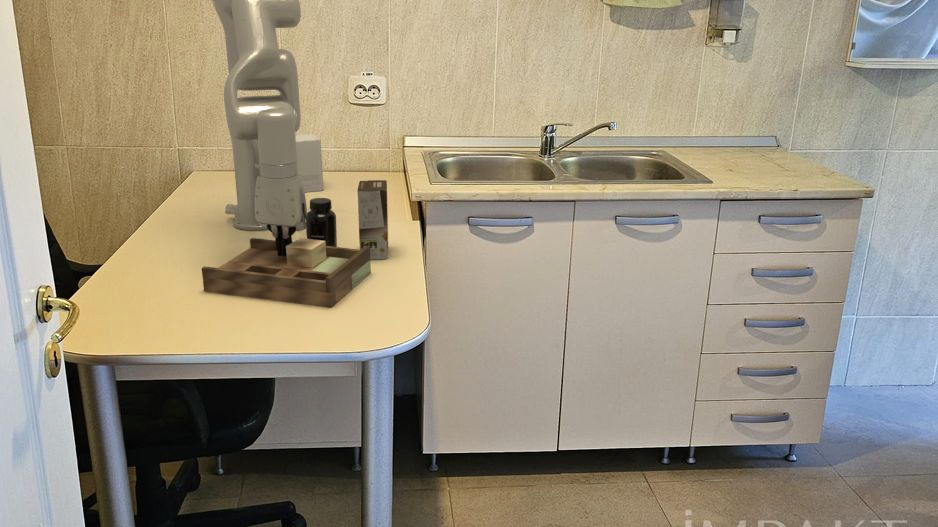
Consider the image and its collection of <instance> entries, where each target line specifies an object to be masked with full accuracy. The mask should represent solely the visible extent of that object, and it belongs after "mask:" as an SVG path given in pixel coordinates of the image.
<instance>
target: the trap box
mask: <svg viewBox="0 0 938 527" xmlns="http://www.w3.org/2000/svg"><path fill="white" fill-rule="evenodd" d="M293 242H294V241H292V243H293ZM249 246H250V247H249V248H248V249H246V250H245V251H243V252H241V253H240V254H238V255H236V256H235V257H234V258H232V259H230V260H228V261H227V262H225V263H224V264H222V265H220V266H218V267H214V266H202V267H201V275H202V284H203V292H208V293H216V294H223V295H230V296H231V295H232V296H237V297H238V296H239V297H246V298H253V299H254V298H255V299H264V300H270V301H279V302H286V303H295V304H300V305H301V304H302V305H307V306H308V305H309V306H310V305H311V306H317V307H323V308H324V307H326V308H333V307H334V306H335V305H336V304H337V303H338V302H339V301H341V299H343V298H344V297H345V296H346V295H348V294H349V293H350V292H351V291H352V290H353V289H354V288H355V287H357V285H359V284H360V283H361V282H362V281H363V280H364V279H365V278H367V277H368V276H369V275H370V274H371V273H372V269H371V267H372V266H371V264H372V263H371V262H372V261H371V259H370V246H365V247H363V248H362V249H361V250H360V248H359V249H357V248H350V247H341V246H339V247H338V246H337V247H332V246H326V259H325V260H324V261H322V262H321V263H319V264H318V265H316V266H315V267H313V268H310V267H302V266H295V265H287V256H285V257H284V256H278V253H277V250H276V240H275V239H274V240H273V239H266V238H256V237H251V238H249ZM350 290H351V291H350ZM349 291H350V292H349Z"/></svg>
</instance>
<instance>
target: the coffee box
mask: <svg viewBox="0 0 938 527" xmlns="http://www.w3.org/2000/svg"><path fill="white" fill-rule="evenodd" d="M387 183H388V182H387V179H386V180H385V179H383V180H381V179H378V180H377V179H376V180H374V179H371V180H359V182H358V186H357V206H358V207H357V209H358V237H359V250H361V249H362V248H363V247H365V246H370V260H387V259H388V253H389V223H388V222H389V216H388V212H389V211H388V209H389V208H388V184H387Z"/></svg>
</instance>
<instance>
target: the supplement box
mask: <svg viewBox="0 0 938 527" xmlns="http://www.w3.org/2000/svg"><path fill="white" fill-rule="evenodd" d="M295 135H296V152H297V168H298V176H301V179H302V183H303V187H304V192H305V193H311V192H313V193H314V192H320V191H324V190H325V189H324V177H323V176H324V174H323V173H324V171H323V158H322V155H323V154H322V143H321V142H322V141H321V139H320V138H318V137H317V136H316V135H315V134H314V133H309V134H295Z"/></svg>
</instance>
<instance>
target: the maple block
mask: <svg viewBox="0 0 938 527" xmlns="http://www.w3.org/2000/svg"><path fill="white" fill-rule="evenodd" d="M292 242H293V243H291V244H289V245H287V246H286V255H287V265H295V266H302V267H310V268H313V267H315V266H316V265H318V264H319V263H321V262H322V261H324V260H325V259H326V241H322V240H314V239H307V238H304V237H300V238H298V239H296V240H294V241H292Z"/></svg>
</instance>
